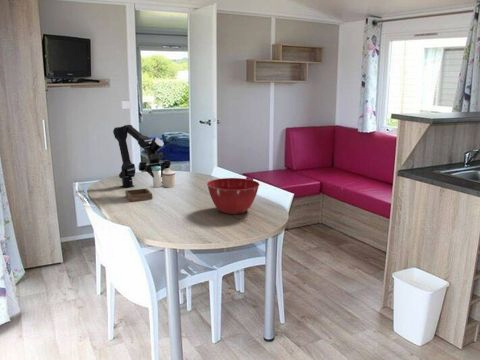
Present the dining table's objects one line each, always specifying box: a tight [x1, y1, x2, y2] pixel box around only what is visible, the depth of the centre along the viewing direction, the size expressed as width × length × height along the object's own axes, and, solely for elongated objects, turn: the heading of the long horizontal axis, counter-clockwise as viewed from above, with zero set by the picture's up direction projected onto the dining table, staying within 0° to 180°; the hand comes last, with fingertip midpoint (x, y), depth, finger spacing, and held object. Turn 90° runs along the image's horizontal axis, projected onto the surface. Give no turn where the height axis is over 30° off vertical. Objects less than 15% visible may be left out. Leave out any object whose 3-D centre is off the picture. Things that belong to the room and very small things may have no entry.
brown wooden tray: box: [124, 188, 153, 203], centre depth 260 cm, size 13×13×4 cm
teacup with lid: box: [161, 168, 176, 188], centre depth 290 cm, size 12×9×12 cm
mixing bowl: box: [206, 177, 260, 215], centre depth 239 cm, size 28×28×16 cm
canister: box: [152, 166, 162, 188], centre depth 261 cm, size 7×5×12 cm
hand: (157, 177), depth 261 cm, fingers closed on canister, 5 cm apart
